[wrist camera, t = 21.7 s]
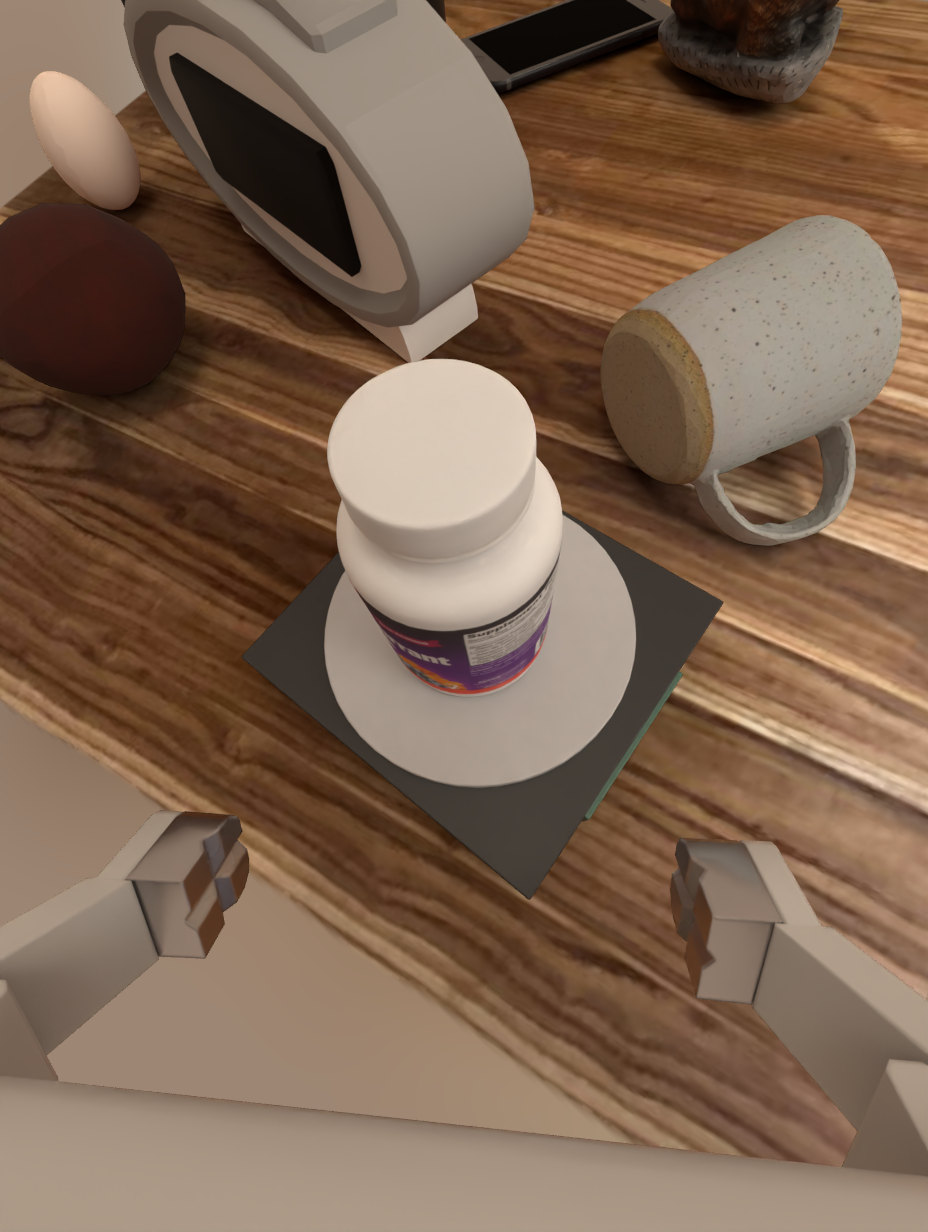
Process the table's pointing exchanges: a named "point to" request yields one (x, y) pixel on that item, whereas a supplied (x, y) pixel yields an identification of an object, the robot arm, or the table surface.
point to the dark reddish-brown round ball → (86, 300)
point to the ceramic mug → (757, 365)
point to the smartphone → (561, 38)
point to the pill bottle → (448, 521)
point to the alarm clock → (346, 148)
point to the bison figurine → (752, 43)
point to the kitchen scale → (501, 700)
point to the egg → (84, 141)
